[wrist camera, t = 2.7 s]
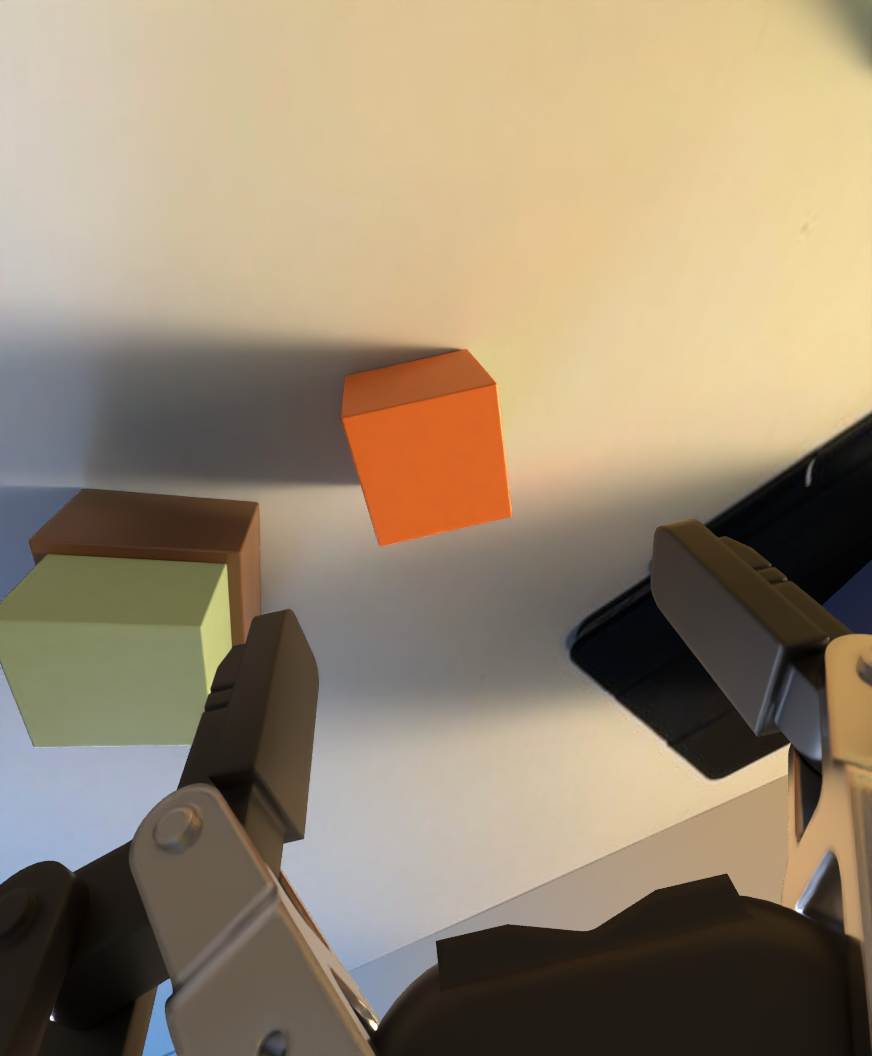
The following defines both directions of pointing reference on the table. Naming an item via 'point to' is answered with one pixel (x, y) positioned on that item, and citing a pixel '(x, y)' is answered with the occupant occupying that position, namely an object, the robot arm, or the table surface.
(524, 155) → the table surface
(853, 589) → the phone stand
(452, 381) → the toy cube
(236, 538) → the walnut block
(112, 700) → the green block
